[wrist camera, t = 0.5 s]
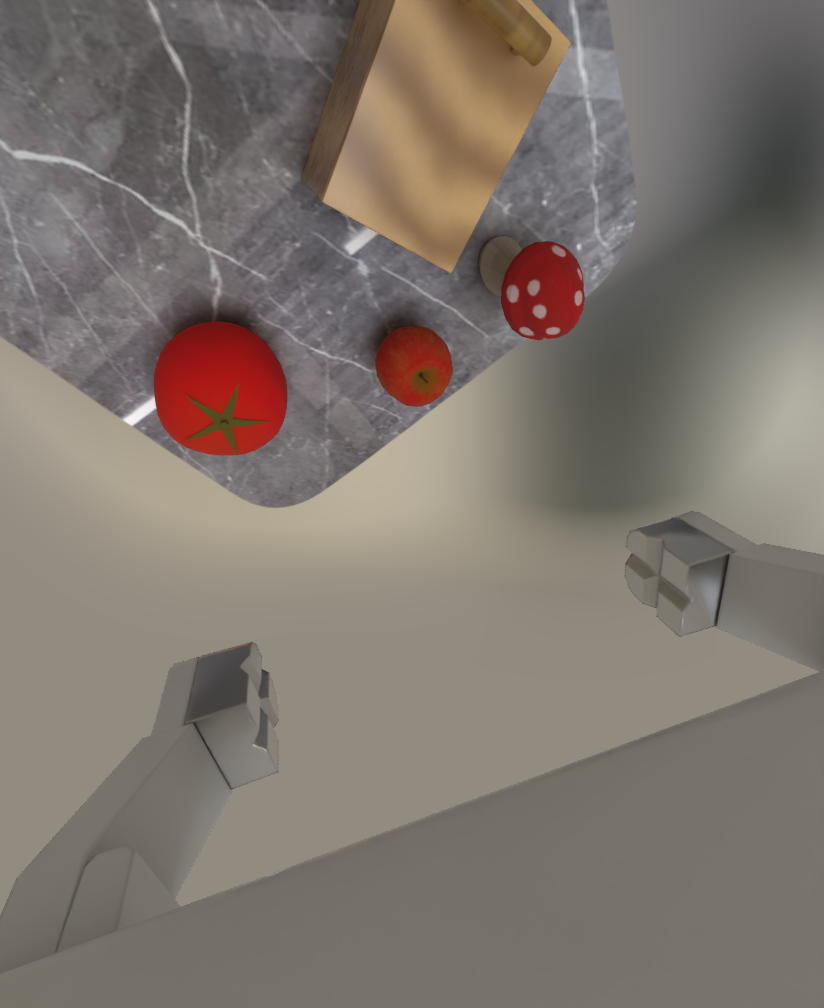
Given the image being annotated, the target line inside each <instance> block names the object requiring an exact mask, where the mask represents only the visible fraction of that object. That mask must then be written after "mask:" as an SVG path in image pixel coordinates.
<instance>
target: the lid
mask: <svg viewBox="0 0 824 1008" xmlns="http://www.w3.org/2000/svg"><path fill="white" fill-rule="evenodd" d="M570 44H571V42H570V41H569V40H568V39H567V38H566V37H565V36H564V35H563V34H562V33H561V31H560V30H559V29H558V28H557V27H556V26H555V25H554V24H553V23H552V22H551V21H550V20H549V19H548V18H547V16H546V15H545V14H544V13H543V12H542V11H541V10H540V9H539V8H538V7H537V6H536V5H535V4H534V3H533V1H532V0H392V3H391V5H390V8H389V11H388V14H387V17H386V19H385V22H384V25H383V28H382V31H381V33H380V36H379V39H378V42H377V44H376V47H375V50H374V53H373V56H372V58H371V61H370V64H369V67H368V69H367V72H366V75H365V78H364V81H363V83H362V86H361V89H360V92H359V94H358V97H357V100H356V103H355V106H354V108H353V111H352V114H351V117H350V119H349V122H348V125H347V128H346V131H345V133H344V136H343V139H342V142H341V144H340V147H339V150H338V153H337V156H336V158H335V161H334V164H333V167H332V170H331V172H330V175H329V178H328V181H327V183H326V186H325V189H324V192H323V195H322V197H321V201H322V202H323V203H325V204H327V205H328V206H330V207H332V208H334V209H336V210H337V211H339V212H341V213H343V214H345V215H346V216H348V217H350V218H352V219H354V220H355V221H357V222H359V223H361V224H363V225H364V226H366V227H368V228H370V229H372V230H374V231H375V232H377V233H379V234H381V235H383V236H384V237H386V238H388V239H390V240H392V241H393V242H395V243H397V244H399V245H401V246H402V247H404V248H406V249H408V250H410V251H411V252H413V253H415V254H417V255H419V256H421V257H422V258H424V259H426V260H428V261H430V262H431V263H433V264H435V265H437V266H439V267H440V268H442V269H444V270H446V271H448V272H449V273H452V271H453V269H454V267H455V265H456V263H457V261H458V259H459V257H460V255H461V253H462V251H463V250H464V248H465V246H466V244H467V242H468V240H469V238H470V236H471V234H472V232H473V230H474V228H475V227H476V225H477V223H478V221H479V219H480V217H481V215H482V213H483V211H484V209H485V207H486V205H487V203H488V202H489V200H490V198H491V196H492V194H493V192H494V190H495V188H496V186H497V184H498V182H499V180H500V179H501V177H502V175H503V173H504V171H505V169H506V167H507V165H508V163H509V161H510V159H511V157H512V155H513V154H514V152H515V150H516V148H517V146H518V144H519V142H520V140H521V138H522V136H523V134H524V132H525V131H526V129H527V127H528V125H529V123H530V121H531V119H532V117H533V115H534V113H535V111H536V109H537V107H538V106H539V104H540V102H541V100H542V98H543V96H544V94H545V92H546V90H547V88H548V86H549V84H550V83H551V81H552V79H553V77H554V75H555V73H556V71H557V69H558V67H559V65H560V63H561V61H562V60H563V58H564V56H565V54H566V52H567V50H568V48H569V46H570Z"/></svg>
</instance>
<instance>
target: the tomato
mask: <svg viewBox="0 0 824 1008" xmlns="http://www.w3.org/2000/svg"><path fill="white" fill-rule="evenodd" d="M154 394H155V403H156V407H157V412H158V416H159V418H160V421H161V423H162V425H163V427H164V429H165V430H166V431H167V432H168V433H169V434H170V436H171V437H172V438H173V439H174V440H175V441H177V442H178V443H180V444H182V445H183V446H185V447H187V448H190V449H192V450H195V451H198V452H202V453H206V454H213V455H238V454H246V453H249V452H252V451H255V450H257V449H259V448H260V447H262V446H264V445H265V444H266V443H268V442H269V441H270V440H271V439H273V437H274V436H275V435H276V434H277V433H278V432H279V430H280V428H281V426H282V424H283V421H284V418H285V413H286V408H287V385H286V379H285V375H284V373H283V370H282V367H281V364H280V363H279V361H278V360H277V358H276V356H275V355H274V353H273V352H272V350H271V349H270V348H269V346H268V345H267V344H266V342H265V341H263V340H262V339H261V338H260V337H259V336H258V335H257V334H255V333H254V332H252V331H250V330H249V329H247V328H245V327H242V326H239V325H237V324H234V323H229V322H222V321H213V322H204V323H200V324H197V325H193V326H190V327H189V328H187V329H185V330H183V331H181V332H180V333H179V334H177V335H176V336H175V337H174V338H173V339H172V340H170V341H169V342H168V343H167V345H166V346H165V348H164V349H163V351H162V352H161V354H160V357H159V360H158V363H157V366H156V369H155V377H154Z"/></svg>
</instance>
